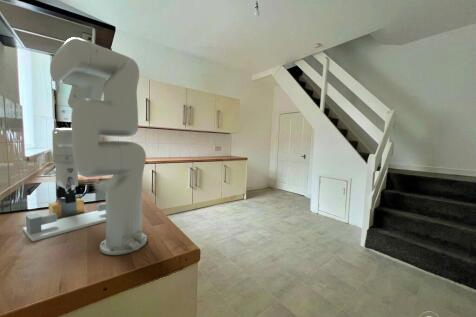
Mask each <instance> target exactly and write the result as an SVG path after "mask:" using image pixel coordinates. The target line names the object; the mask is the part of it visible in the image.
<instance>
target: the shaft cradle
mask: <svg viewBox="0 0 476 317" xmlns="http://www.w3.org/2000/svg"><path fill="white" fill-rule="evenodd" d="M25 222H26V223H25V224H26V226H24V227H22V231H23V232H24V234H26V235H27V237H28V238H29V239H30V240H31V242H36V241H39V240H42V239H48V238H50V237H54V236H58V235H61V234H64V233H65V234H66V233H68V232H71V231H76V230H80V229H83V228H86V227H89V226H94V225H98V224H101V223H104V222H105V223H106V202H103V203H97V204H96V210H93V211H90V212H83V213H79V214H75V215H72V216H71V215H70V216H67V217H61V218H57V214H56V213H52V214H49V213H48V214H43V215H40V214H38V212H37V213H31V214H26V215H25Z"/></svg>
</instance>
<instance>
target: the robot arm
mask: <svg viewBox="0 0 476 317" xmlns="http://www.w3.org/2000/svg"><path fill="white" fill-rule="evenodd" d="M49 72H50V77H51V78H52V80H54V82H56V83H60V84H64V85H69V86H71V88H70V93H69V96H68V99H67V106H69V107H70V109H72V110H71V115H70V116H71V117H70V118H71V122H70V123H71V128H70V127H60V128H59V127H57V128H54V129H52V133H51V134H52V163H53V164H55V184H56V198H57V199H63V198H65V203H73V202H76V199H77V198H76V196H77V195H76V194H77V193H76V192H77V191H76V189H77V188H76V187H78V186H79V177H78V175H80V176H82V177H84V178H85V177H86V178H97V177H106V176H107V177H108V176H112V177H111V178H110V179H109V181H108V182H107V185H106V188H105V203H106V221H105V239H103V240H102V241H101V242H100V244H99V251H100V252H101V253H103V254H104V255H108V256H109V255H110V256H118V255H119V256H120V255H126V254H129V253H133V252H135V251H138V250H140V248H143V247H144V246H145V245H146V243H147V242H148V237H147V235H146V234H145V233H144V232H143V230H142V229H143V228H142V227H143V226H142V218H143V215H142V214H143V213H142V212H143V209H142V208H143V207H142V206H143V201H142V200H143V197H142V196H143V195H142V194H143V177H144V170H145V165H146V160H147V156H146V155H147V154H146V151H145V149H144V147H143V146H142V145H141V144H138V143H136V142H133V141H126V140H125V141H121V140H120V141H119V140H102V138H103V137H118V138H119V137H121V138H124V137H126V138H127V137H128V138H129V137H133V136H134V135H136V134H137V132H138V129H139V110H138V95H137V92H138V86H139V85H138V84H139V82H140V81H139V80H140V70H139V66H138V63H137V62H136V61H135V60H134V59H133V58H131V57H129V56H127V55H124V54H122V53H119V52H117V51H115V50H111V49H109V48H107V47H104V46H101V45H98V44H96V43H93V42H91V41H89V40H85V39H83V38H80V37H71V38H67V40H66V41H65V42H64V43H63V44H62V45H61V46H60V48H59V49H58V50H57V51H56V52H55V53H54V55H53V57H52V59H51V62H50V65H49ZM102 97H103V100H102Z"/></svg>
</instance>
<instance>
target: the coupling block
mask: <svg viewBox="0 0 476 317" xmlns="http://www.w3.org/2000/svg"><path fill="white" fill-rule="evenodd" d="M84 203H85V201H84V199H82V198H80V197H78V198H76V202H73V203H65V197H63V198H57V199H56V202H54V201H53V202H49V203H48V214H52V213H56V214H57V219H59V218H64V217H66V216H67V217H68V216H71V215H72V216H73V215H77V214H82V213H85V207H84V206H85V204H84Z"/></svg>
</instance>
